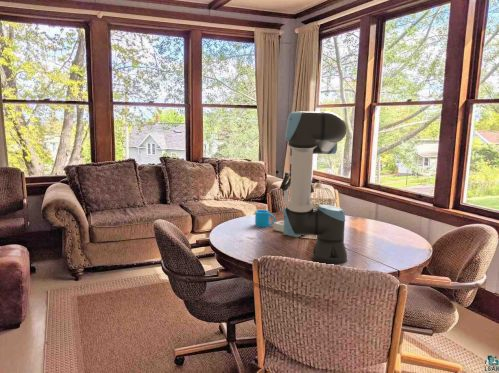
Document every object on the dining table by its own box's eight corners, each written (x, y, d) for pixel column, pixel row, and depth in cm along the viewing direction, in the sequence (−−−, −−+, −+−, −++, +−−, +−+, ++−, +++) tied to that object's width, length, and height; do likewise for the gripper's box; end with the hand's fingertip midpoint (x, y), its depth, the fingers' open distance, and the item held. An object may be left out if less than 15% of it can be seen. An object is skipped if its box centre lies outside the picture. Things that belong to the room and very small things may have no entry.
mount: (291, 229, 228) (291, 222, 227) (283, 232, 223) (284, 225, 222) (281, 227, 232) (281, 220, 232) (273, 229, 227) (273, 222, 227)
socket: (307, 233, 220) (307, 223, 219) (297, 237, 213) (297, 226, 212) (293, 230, 226) (293, 220, 225) (283, 234, 219) (283, 223, 218)
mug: (253, 226, 235) (253, 212, 233) (258, 223, 242) (258, 209, 241) (273, 228, 230) (273, 214, 229) (277, 225, 238) (277, 211, 237)
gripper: (321, 165, 208) (320, 206, 211) (282, 161, 224) (281, 200, 227) (313, 165, 202) (311, 208, 205) (273, 162, 219) (273, 201, 222)
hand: (296, 204), depth 216 cm, fingers open, 13 cm apart
